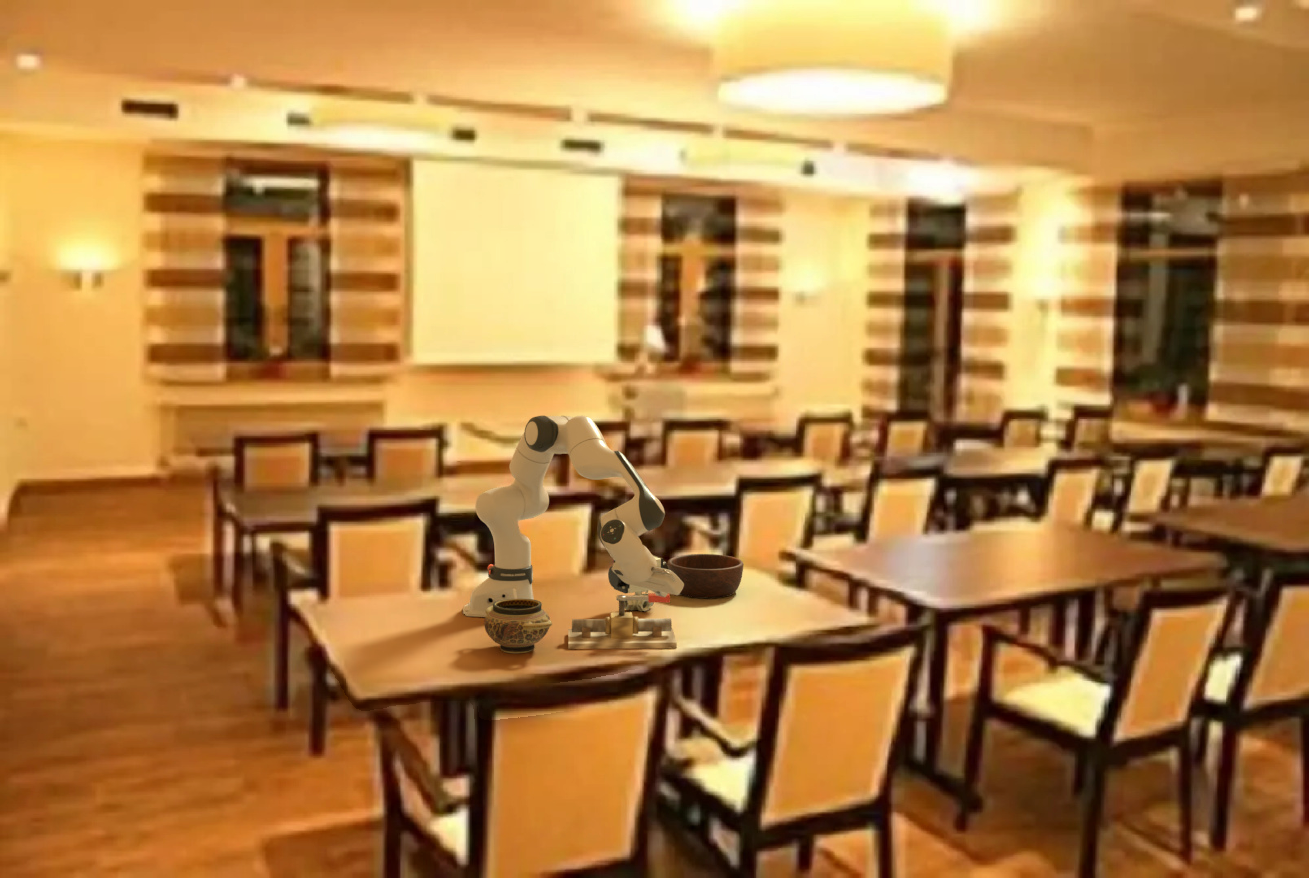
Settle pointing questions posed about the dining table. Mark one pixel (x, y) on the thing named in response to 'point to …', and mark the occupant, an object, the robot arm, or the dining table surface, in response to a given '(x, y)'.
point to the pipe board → (621, 643)
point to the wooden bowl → (707, 574)
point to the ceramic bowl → (516, 624)
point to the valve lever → (644, 597)
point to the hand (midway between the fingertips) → (662, 594)
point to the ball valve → (634, 588)
